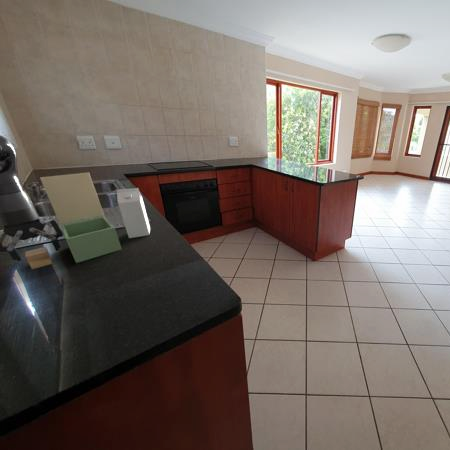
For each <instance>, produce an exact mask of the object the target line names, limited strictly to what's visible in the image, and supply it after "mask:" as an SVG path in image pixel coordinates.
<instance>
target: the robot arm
mask: <svg viewBox="0 0 450 450" xmlns="http://www.w3.org/2000/svg"><path fill="white" fill-rule="evenodd" d="M17 161H18V160H17V151H16V148H15V147H14V144H13V143H12V142H11V141H10V140H9V139H8V138H6V137H5V136H3V135H1V134H0V223H1V225H2V226H3V229H0V239H2V238H3V235H6V236H9V237H11V238H10V240H9V242H8V244H7V245H4V244H3V243H2V240H0V252H1V253H2V252H7V253H9V256H10V257H11V260H13V261H17V262H21V261H22V257H21V255H20V253H19V252H18V250H17V247H16V245H17V244H18V242H19V241H27V240H29V239H36V238H38V237H39V236H40V237H43V238H45V239H49V240H50V241H51V243H52V245H53V248H54V250H55V251H56V252H57V251H59V250H60V249H61V244H60V242H59V240H58V239H59V238H61V237H63V236H64V233H63V231H62V228H61V226H59V224H58V222H57V220H56V219H55V218H49V220H42V219H41V217H40V215H39V214H38V211H37V209H36V208H35V205H34V204H33V201H32V199H31V197H30V195H29V194H28V192H27V191H26V190H25V187H24V186H23V183H22V181H21V179H20V177H19V169H18V162H17ZM45 226H48V227H50V228H52V227H53V229H54V231H55V233H51V232H49V231H47V230H46V229H45Z"/></svg>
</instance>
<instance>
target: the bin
mask: <svg viewBox="0 0 450 450" xmlns="http://www.w3.org/2000/svg"><path fill="white" fill-rule="evenodd" d="M60 229H61V231H62V233H63V236H64V239H65V241H66V244H67V245H68V248H69V250H70V252H71V254H72V255H71V256H72V258H73V260H74V261H75V263H76V264H78V263H81V262H84V261H88V260H91V259H95V258H98V257H101V256H104V255H107V254H111V253H114V252H117V251H122V246H121V242H120V239H119V237H118V234H117V231H116V228H115V227H114V225H113V224H112V223H111V222H110V220H108V218H107V217H106V216H105V215H103V216H98V217H94V218H89V219H84V220H79V221H74V222H70V223H65V224H60Z"/></svg>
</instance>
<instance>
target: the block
mask: <svg viewBox="0 0 450 450" xmlns="http://www.w3.org/2000/svg"><path fill="white" fill-rule="evenodd" d="M24 255H25V256H24V257H25V259H26V261H27V263H28V265H29V267H30V268H31V270H35V269H38V268H43V267H46V266H49V265H52V264H53V260H52V257H51V255H50V253H49V251H48V248H47V247H46V246H43V247H40V248H39V247H38V248H35V249H31V250H26V251H25V253H24Z"/></svg>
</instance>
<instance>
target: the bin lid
mask: <svg viewBox="0 0 450 450" xmlns="http://www.w3.org/2000/svg"><path fill="white" fill-rule="evenodd" d="M39 180H40V182H41V185H42V186H43V188H44V191H45V193H46V195H47V197H48V200H49V202H50V205H51V208H52V209H53V212H54V213H55V216H56V219H57V221H58V223H59V225H65V224H70V223H75V222H80V221H84V220H89V219H94V218H98V217H103V216H105V214H104V211H103V207H102V205H101V201H100V199H99V196H98V194H97V190H96V188H95V185H94V182H93V180H92V177H91V175H90V172H80V173H70V174H69V173H68V174H62V175H61V174H60V175H52V176H42V177H39Z"/></svg>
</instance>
